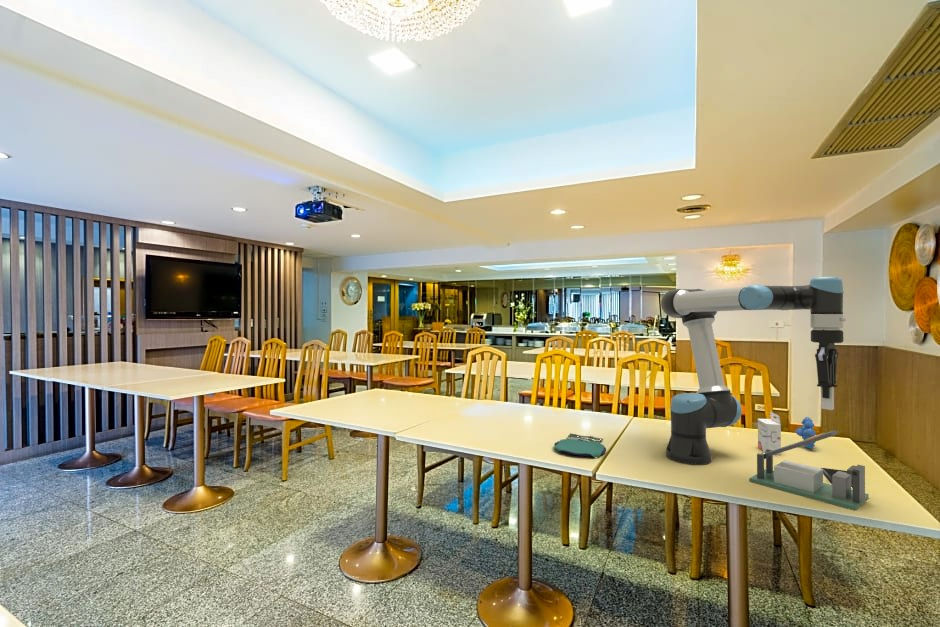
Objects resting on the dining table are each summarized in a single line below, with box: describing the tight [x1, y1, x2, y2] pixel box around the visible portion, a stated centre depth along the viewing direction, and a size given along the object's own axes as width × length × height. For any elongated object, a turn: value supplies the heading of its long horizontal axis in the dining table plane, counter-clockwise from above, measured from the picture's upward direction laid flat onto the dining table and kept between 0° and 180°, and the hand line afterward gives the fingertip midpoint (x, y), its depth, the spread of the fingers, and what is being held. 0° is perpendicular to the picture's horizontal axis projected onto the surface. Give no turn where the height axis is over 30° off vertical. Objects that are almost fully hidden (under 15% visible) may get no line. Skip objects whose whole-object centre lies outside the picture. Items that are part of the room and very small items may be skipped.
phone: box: [820, 467, 853, 489], centre depth 142 cm, size 8×1×15 cm
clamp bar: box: [760, 429, 838, 460], centre depth 135 cm, size 22×5×2 cm
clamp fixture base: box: [748, 449, 870, 511], centre depth 133 cm, size 26×14×10 cm, turn 37°
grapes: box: [795, 416, 817, 450], centre depth 175 cm, size 12×7×12 cm, turn 153°
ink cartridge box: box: [757, 411, 782, 456], centre depth 170 cm, size 9×5×15 cm, turn 168°
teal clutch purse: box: [553, 432, 607, 459], centre depth 176 cm, size 20×30×2 cm, turn 155°
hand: (827, 408), depth 129 cm, fingers closed
